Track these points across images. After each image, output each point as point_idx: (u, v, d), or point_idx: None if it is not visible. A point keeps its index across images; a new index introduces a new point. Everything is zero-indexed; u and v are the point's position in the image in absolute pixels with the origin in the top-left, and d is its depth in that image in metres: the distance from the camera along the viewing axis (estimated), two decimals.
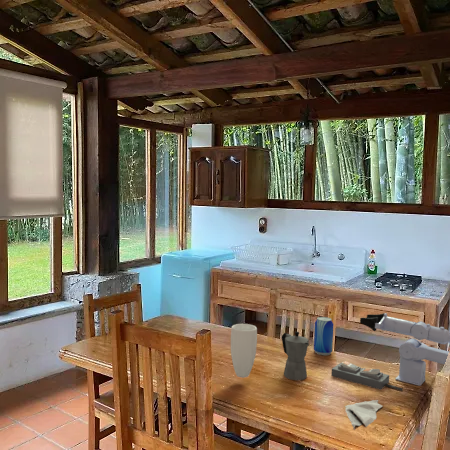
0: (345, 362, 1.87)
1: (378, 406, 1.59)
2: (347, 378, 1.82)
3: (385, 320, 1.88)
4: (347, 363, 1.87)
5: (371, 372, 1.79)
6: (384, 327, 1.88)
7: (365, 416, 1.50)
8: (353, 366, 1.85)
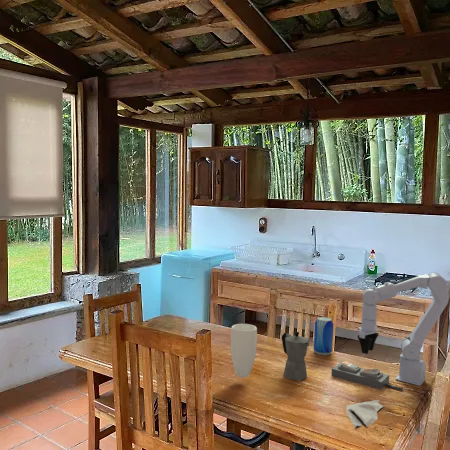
0: (345, 362, 1.87)
1: (379, 406, 1.58)
2: (347, 378, 1.82)
3: (362, 328, 1.88)
4: (347, 363, 1.87)
5: (371, 372, 1.79)
6: (369, 330, 1.86)
7: (366, 416, 1.50)
8: (353, 366, 1.85)
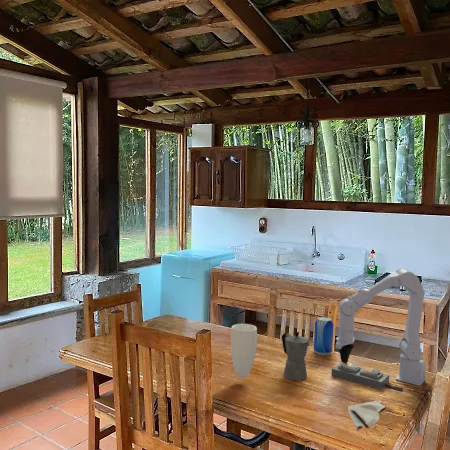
0: None
1: (381, 407, 1.58)
2: (347, 378, 1.82)
3: (339, 339, 1.86)
4: (347, 363, 1.87)
5: (371, 372, 1.79)
6: (345, 340, 1.84)
7: (368, 417, 1.49)
8: (353, 366, 1.85)
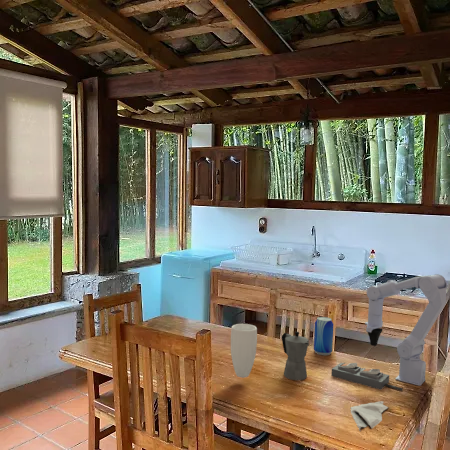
0: (344, 364, 1.88)
1: (383, 407, 1.58)
2: (347, 378, 1.82)
3: (369, 323, 1.96)
4: (346, 364, 1.87)
5: (371, 372, 1.79)
6: (375, 324, 1.94)
7: (371, 417, 1.49)
8: (352, 364, 1.86)
